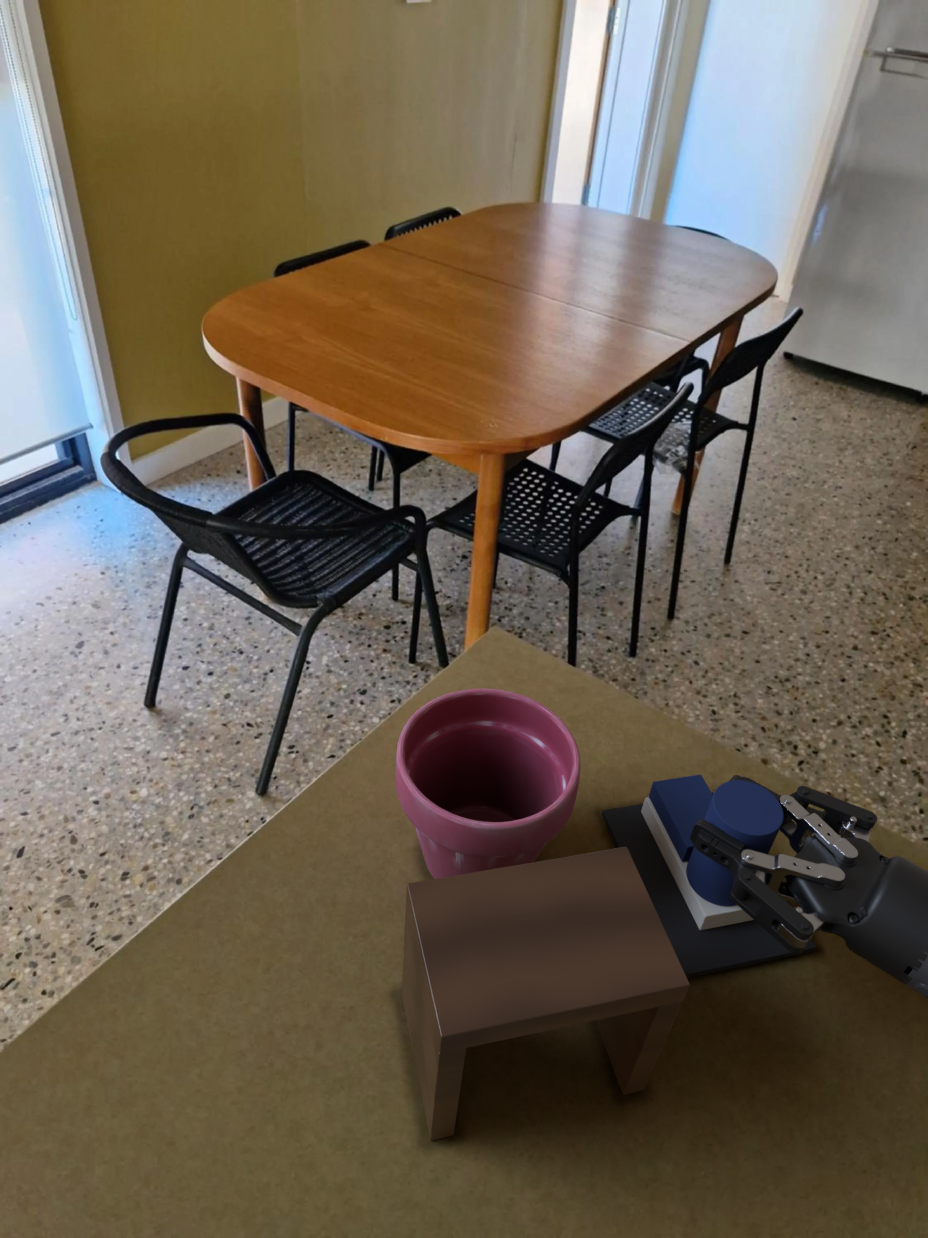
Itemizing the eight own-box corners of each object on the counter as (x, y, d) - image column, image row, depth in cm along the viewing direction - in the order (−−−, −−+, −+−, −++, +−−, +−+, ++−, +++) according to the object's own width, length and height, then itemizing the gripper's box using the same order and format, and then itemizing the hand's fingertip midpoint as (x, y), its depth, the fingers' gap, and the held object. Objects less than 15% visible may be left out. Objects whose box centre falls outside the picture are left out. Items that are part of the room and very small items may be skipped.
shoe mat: (815, 951, 70) (817, 947, 69) (675, 980, 67) (677, 976, 67) (722, 795, 82) (724, 790, 81) (601, 814, 79) (602, 810, 79)
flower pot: (377, 803, 78) (378, 699, 70) (526, 776, 82) (543, 673, 74) (416, 947, 68) (422, 844, 60) (585, 909, 71) (612, 806, 63)
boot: (758, 919, 71) (800, 833, 64) (699, 931, 70) (735, 845, 63) (693, 803, 80) (724, 716, 73) (640, 811, 79) (666, 724, 72)
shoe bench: (644, 1090, 61) (690, 985, 52) (429, 1141, 57) (440, 1037, 49) (593, 958, 68) (627, 846, 59) (401, 996, 65) (406, 883, 56)
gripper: (988, 840, 62) (764, 722, 70) (925, 986, 53) (677, 832, 61) (945, 901, 67) (739, 784, 75) (881, 1045, 58) (655, 895, 66)
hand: (712, 806), depth 68 cm, fingers closed on boot, 5 cm apart
